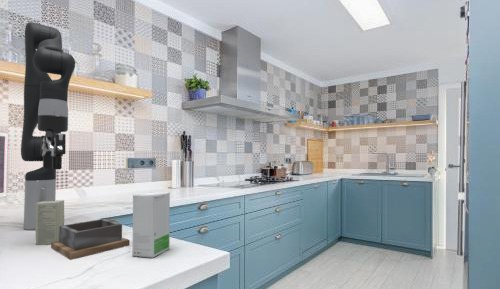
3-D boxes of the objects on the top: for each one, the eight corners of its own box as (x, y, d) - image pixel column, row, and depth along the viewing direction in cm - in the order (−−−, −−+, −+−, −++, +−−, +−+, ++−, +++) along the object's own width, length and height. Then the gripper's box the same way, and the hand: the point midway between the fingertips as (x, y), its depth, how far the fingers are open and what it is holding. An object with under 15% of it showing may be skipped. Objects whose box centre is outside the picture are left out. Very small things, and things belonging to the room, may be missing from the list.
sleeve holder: (50, 247, 80) (51, 226, 81) (105, 236, 92) (106, 217, 92) (70, 259, 71) (71, 234, 71) (129, 245, 82) (129, 224, 83)
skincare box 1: (64, 239, 88) (65, 199, 89) (58, 243, 84) (59, 202, 85) (41, 241, 87) (42, 200, 88) (33, 245, 83) (35, 202, 83)
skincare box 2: (152, 258, 71) (153, 195, 72) (129, 256, 73) (130, 194, 74) (170, 248, 79) (171, 191, 80) (149, 246, 81) (150, 191, 82)
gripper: (31, 116, 89) (30, 169, 88) (46, 111, 80) (44, 170, 79) (59, 119, 95) (58, 168, 94) (76, 114, 86) (74, 169, 85)
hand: (52, 169), depth 87 cm, fingers open, 8 cm apart
